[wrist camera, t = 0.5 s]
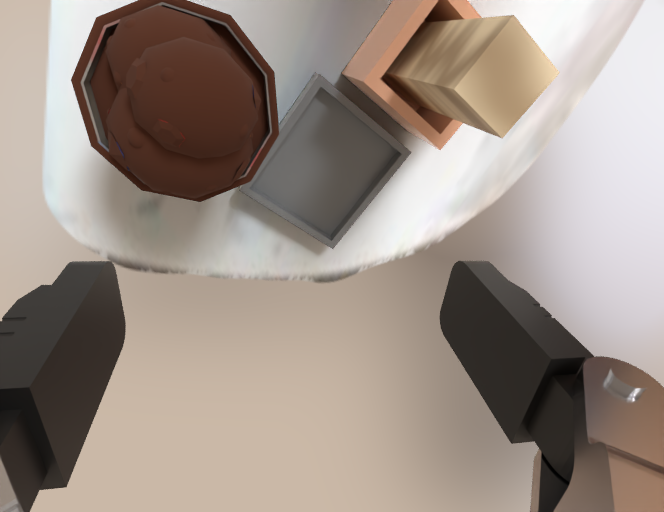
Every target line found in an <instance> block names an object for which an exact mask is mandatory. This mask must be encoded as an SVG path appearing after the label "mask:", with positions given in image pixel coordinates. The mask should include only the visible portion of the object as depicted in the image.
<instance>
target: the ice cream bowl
mask: <svg viewBox="0 0 664 512" xmlns="http://www.w3.org/2000/svg"><path fill="white" fill-rule="evenodd" d="M71 81H72V84H73V88H74V91H75V94H76V97H77V101H78V104H79V107H80V110H81V114H82V117H83V120H84V124H85V127H86V130H87V133H88V137H89V140H90V143H91V146H92V147H93V148H94V149H95V150H96V151H98V152H99V153H100V154H101V155H102V156H103V157H104V158H106V159H107V160H108V161H109V162H110V163H111V164H112V165H113V166H115V167H116V168H117V169H118V170H119V171H120V172H121V173H123V174H124V175H125V176H126V177H127V178H128V179H129V180H130V181H132V182H133V183H134V184H135V185H136V186H137V187H138V188H140V189H141V190H143V191H148V192H153V193H158V194H163V195H168V196H173V197H178V198H183V199H188V200H193V201H198V202H201V201H204V200H206V199H209V198H211V197H214V196H216V195H219V194H221V193H224V192H226V191H228V190H231V189H233V188H236V187H238V186H241V185H243V184H246V183H248V182H251V180H252V179H253V177H254V175H255V174H256V172H257V170H258V169H259V167H260V165H261V164H262V162H263V160H264V159H265V157H266V156H267V154H268V152H269V151H270V149H271V147H272V146H273V144H274V142H275V141H276V139H277V137H278V136H279V125H278V113H277V101H276V89H275V77H274V71H273V70H272V69H271V67H270V66H269V65H268V63H267V62H266V61H265V60H264V58H263V57H262V56H261V54H260V53H259V52H258V50H257V49H256V48H255V47H254V45H253V44H252V43H251V41H250V40H249V39H248V37H247V36H246V35H245V34H244V32H243V31H242V30H241V28H240V27H239V26H238V24H237V23H236V22H235V20H234V19H233V18H232V17H231V15H228V14H225V13H222V12H219V11H216V10H214V9H211V8H208V7H205V6H202V5H199V4H196V3H193V2H190V1H187V0H138V1H136V2H133V3H131V4H128V5H126V6H123V7H121V8H119V9H116V10H114V11H111V12H109V13H106V14H104V15H101V16H99V17H96V20H95V22H94V25H93V27H92V30H91V32H90V35H89V37H88V39H87V42H86V44H85V47H84V49H83V52H82V54H81V57H80V59H79V62H78V64H77V67H76V69H75V72H74V74H73V76H72V79H71Z"/></svg>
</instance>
